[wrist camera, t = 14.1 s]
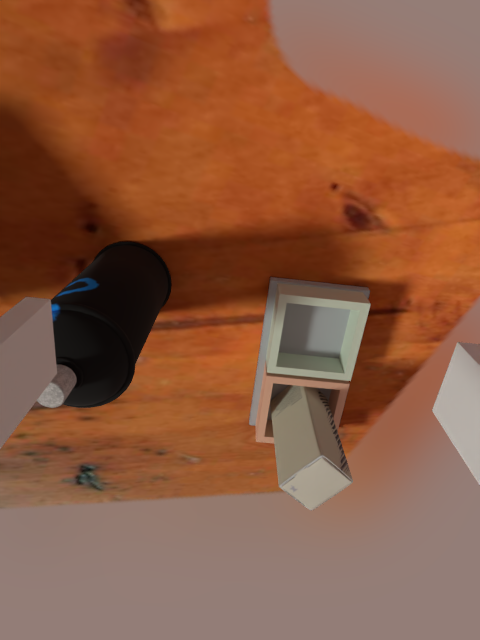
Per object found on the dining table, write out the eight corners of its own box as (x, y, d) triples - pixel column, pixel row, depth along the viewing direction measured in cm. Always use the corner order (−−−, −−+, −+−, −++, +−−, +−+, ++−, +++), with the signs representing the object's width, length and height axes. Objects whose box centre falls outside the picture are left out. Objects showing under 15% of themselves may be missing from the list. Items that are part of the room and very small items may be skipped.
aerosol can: (187, 274, 43) (144, 386, 25) (143, 331, 46) (75, 468, 28) (118, 223, 41) (16, 305, 23) (76, 285, 44) (-45, 402, 26)
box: (294, 422, 49) (309, 515, 38) (268, 399, 48) (275, 488, 37) (329, 395, 48) (356, 484, 36) (303, 371, 47) (322, 455, 35)
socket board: (270, 276, 43) (272, 291, 39) (367, 287, 43) (378, 302, 40) (249, 419, 51) (249, 442, 47) (332, 427, 51) (338, 451, 47)
